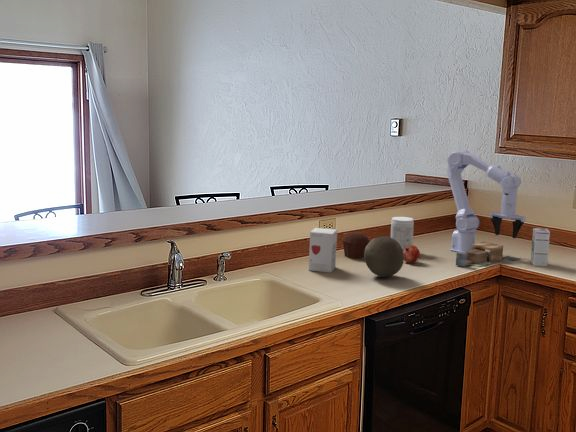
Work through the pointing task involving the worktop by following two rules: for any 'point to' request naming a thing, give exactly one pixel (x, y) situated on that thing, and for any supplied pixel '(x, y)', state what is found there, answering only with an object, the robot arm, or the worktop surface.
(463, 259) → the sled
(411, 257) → the pomegranate
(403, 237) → the supplement tub
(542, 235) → the syrup box
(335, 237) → the supplement box
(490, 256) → the tunnel
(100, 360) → the worktop surface
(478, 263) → the pad
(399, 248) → the cantaloupe
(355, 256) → the muffin
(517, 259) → the pit right
